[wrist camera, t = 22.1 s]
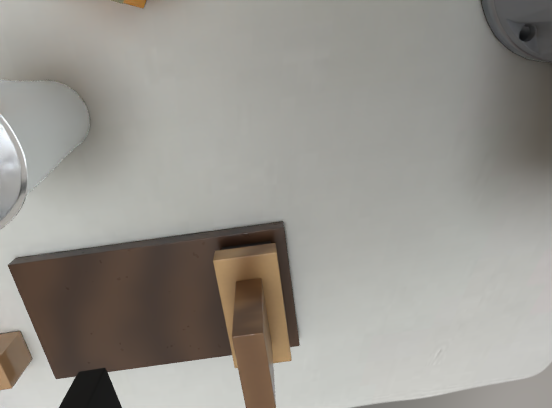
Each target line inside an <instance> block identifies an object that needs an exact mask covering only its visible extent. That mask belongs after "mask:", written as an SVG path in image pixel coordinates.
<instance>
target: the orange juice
mask: <svg viewBox="0 0 552 408" xmlns="http://www.w3.org/2000/svg"><path fill="white" fill-rule="evenodd" d="M112 1H116V2H119V3H126V4H129V5H133V6H136V7H140V8H144V5H145V3H146V0H112Z"/></svg>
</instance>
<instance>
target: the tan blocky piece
mask: <svg viewBox="0 0 552 408" xmlns="http://www.w3.org/2000/svg"><path fill="white" fill-rule="evenodd" d="M31 360H32V357H31V355H30V352H29V350H28V348H27V346H26V343H25V341H24V339H23V336H22V334H21V332H20V331H18V332H10V333H3V334H0V390H4V389H11V388H12V387H13V386H14V385H15V383H16V382H17V380H18V379H19V377H20V376H21V374H22V373H23V372H24V370H25V369H26V367H27V366H28V364H29V363H30V362H31Z"/></svg>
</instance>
